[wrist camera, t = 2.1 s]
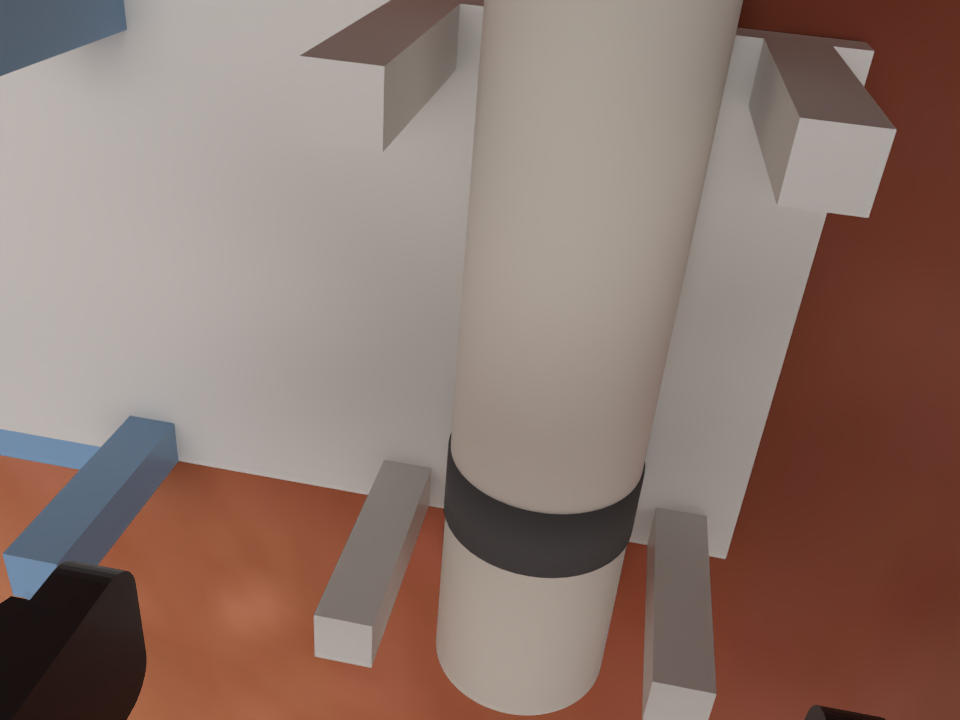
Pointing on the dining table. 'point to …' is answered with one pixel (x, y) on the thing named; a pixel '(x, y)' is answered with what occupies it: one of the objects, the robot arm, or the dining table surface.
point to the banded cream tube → (567, 324)
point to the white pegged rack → (360, 278)
